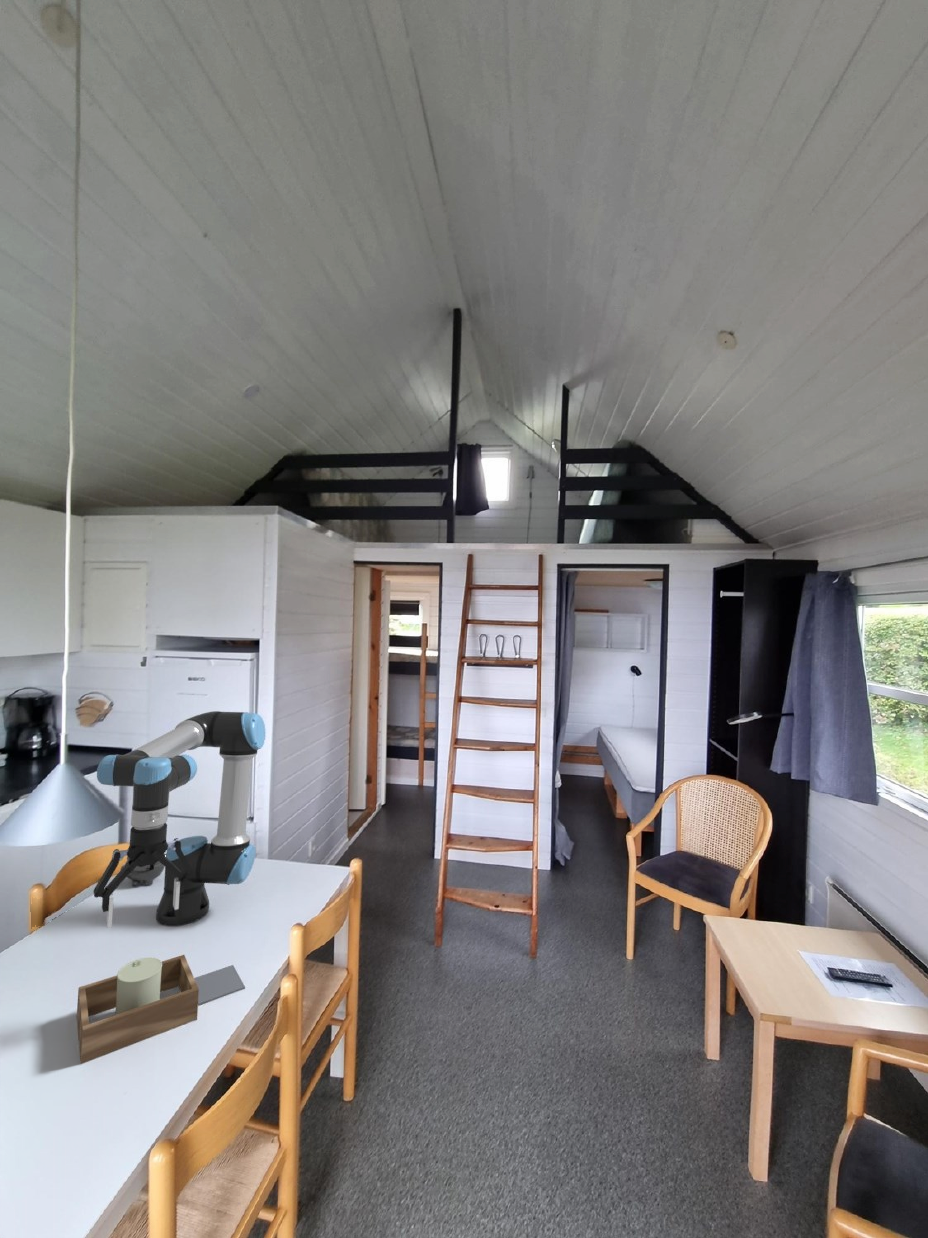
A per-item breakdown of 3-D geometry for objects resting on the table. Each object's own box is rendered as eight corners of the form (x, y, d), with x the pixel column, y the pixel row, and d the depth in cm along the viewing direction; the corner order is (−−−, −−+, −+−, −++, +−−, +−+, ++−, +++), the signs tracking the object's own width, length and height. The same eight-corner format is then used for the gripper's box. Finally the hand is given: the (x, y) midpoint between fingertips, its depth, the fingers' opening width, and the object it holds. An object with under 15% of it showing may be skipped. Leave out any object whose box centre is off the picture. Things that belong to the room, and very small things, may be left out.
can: (153, 999, 131) (156, 950, 131) (164, 1020, 125) (167, 968, 125) (109, 1017, 125) (112, 965, 125) (118, 1040, 118) (122, 985, 118)
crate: (76, 1017, 124) (78, 987, 124) (182, 981, 138) (184, 954, 138) (80, 1064, 111) (82, 1030, 111) (197, 1019, 125) (198, 989, 125)
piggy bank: (126, 876, 193) (128, 844, 193) (171, 873, 197) (173, 842, 197) (114, 891, 182) (116, 857, 182) (162, 888, 186) (164, 855, 186)
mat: (188, 981, 138) (188, 980, 138) (232, 966, 145) (233, 965, 145) (198, 1005, 130) (198, 1004, 130) (244, 988, 137) (245, 987, 137)
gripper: (86, 840, 115) (79, 940, 114) (209, 820, 131) (204, 907, 130) (83, 830, 121) (77, 924, 120) (202, 811, 137) (197, 894, 136)
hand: (143, 915), depth 125 cm, fingers open, 13 cm apart
